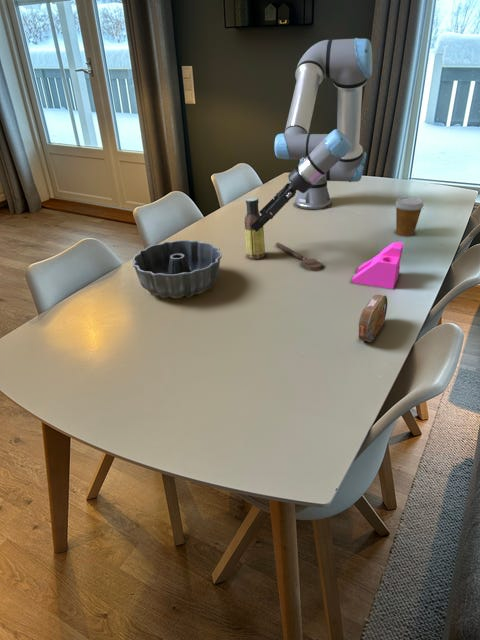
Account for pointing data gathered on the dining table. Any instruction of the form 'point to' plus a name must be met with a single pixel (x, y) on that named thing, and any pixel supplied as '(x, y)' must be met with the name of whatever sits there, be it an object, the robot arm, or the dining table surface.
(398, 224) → the disposable coffee cup
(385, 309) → the tin
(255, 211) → the sauce bottle
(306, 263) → the wooden spoon
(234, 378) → the dining table surface
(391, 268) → the bracket
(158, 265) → the bundt pan
